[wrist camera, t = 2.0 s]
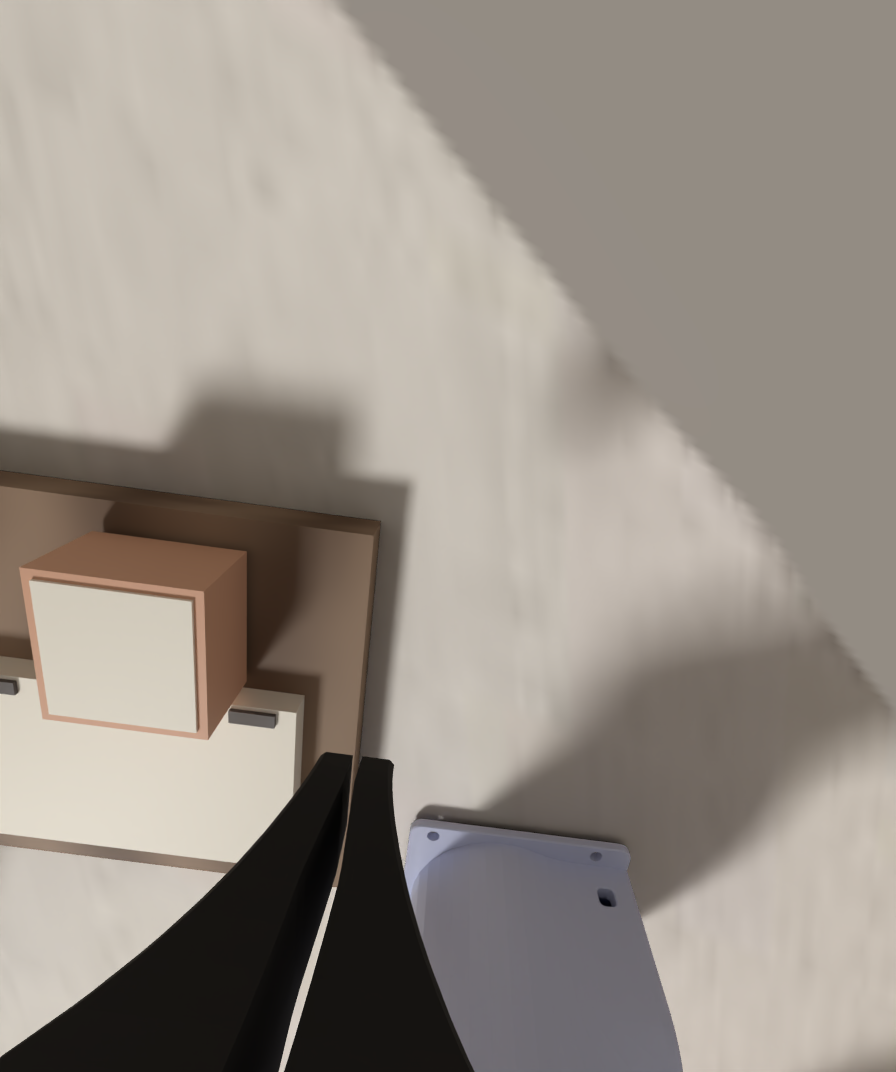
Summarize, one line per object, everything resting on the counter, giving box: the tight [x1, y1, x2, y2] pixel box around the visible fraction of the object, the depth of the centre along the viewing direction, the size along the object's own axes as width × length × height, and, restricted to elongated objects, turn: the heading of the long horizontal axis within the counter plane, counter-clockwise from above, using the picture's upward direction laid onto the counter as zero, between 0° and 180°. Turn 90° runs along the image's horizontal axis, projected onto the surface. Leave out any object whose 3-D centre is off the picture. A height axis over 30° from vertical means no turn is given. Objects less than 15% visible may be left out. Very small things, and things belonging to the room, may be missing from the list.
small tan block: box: [19, 531, 247, 740], centre depth 17 cm, size 5×5×3 cm
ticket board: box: [0, 471, 381, 887], centre depth 20 cm, size 19×16×3 cm
